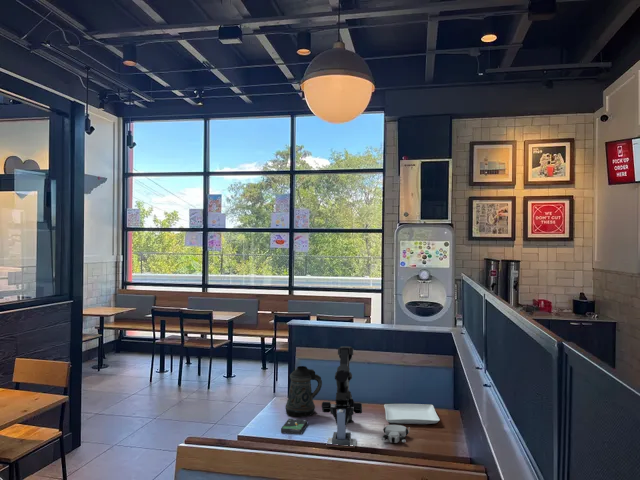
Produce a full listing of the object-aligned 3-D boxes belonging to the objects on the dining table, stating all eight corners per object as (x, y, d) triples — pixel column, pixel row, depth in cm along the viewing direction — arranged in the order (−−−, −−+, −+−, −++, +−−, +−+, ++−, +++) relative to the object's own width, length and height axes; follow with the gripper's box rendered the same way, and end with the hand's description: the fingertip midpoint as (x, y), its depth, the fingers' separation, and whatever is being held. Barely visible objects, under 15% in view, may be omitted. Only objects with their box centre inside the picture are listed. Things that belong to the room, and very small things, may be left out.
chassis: (328, 439, 219) (328, 431, 220) (356, 440, 218) (356, 432, 218) (326, 447, 210) (326, 439, 210) (355, 448, 208) (355, 440, 208)
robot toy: (406, 448, 211) (409, 434, 225) (406, 438, 210) (409, 424, 225) (379, 445, 214) (384, 431, 228) (379, 435, 214) (384, 422, 228)
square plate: (432, 410, 262) (432, 403, 262) (440, 427, 235) (440, 419, 235) (384, 409, 265) (383, 402, 265) (386, 426, 238) (385, 418, 238)
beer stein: (280, 410, 263) (280, 365, 264) (311, 405, 272) (311, 362, 274) (293, 419, 249) (292, 371, 250) (325, 413, 258) (324, 367, 259)
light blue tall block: (338, 436, 217) (337, 407, 217) (345, 436, 216) (345, 407, 217) (337, 440, 211) (336, 410, 212) (345, 441, 211) (344, 411, 212)
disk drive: (288, 424, 243) (280, 433, 228) (288, 418, 243) (280, 427, 229) (307, 425, 241) (301, 435, 227) (307, 419, 241) (301, 429, 227)
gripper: (321, 384, 220) (319, 415, 209) (361, 385, 218) (361, 417, 206) (323, 396, 227) (321, 427, 216) (362, 397, 225) (361, 428, 214)
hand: (341, 424), depth 213 cm, fingers closed on light blue tall block, 4 cm apart
